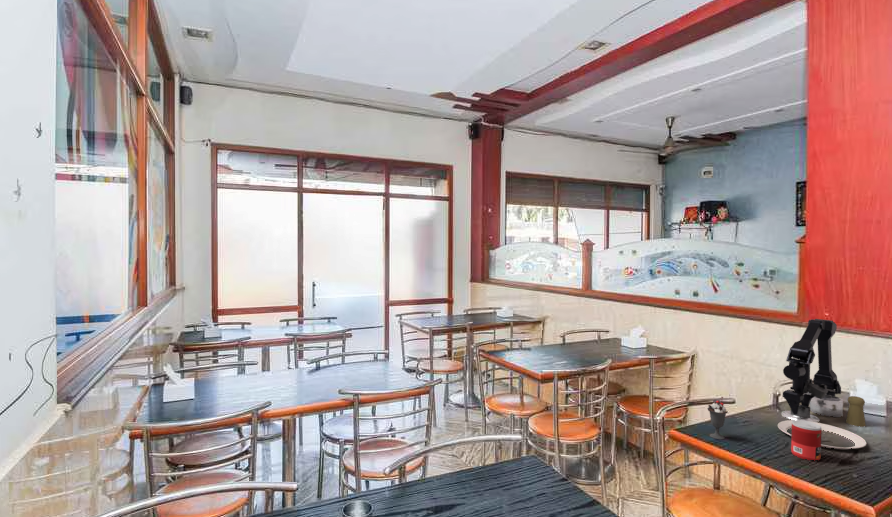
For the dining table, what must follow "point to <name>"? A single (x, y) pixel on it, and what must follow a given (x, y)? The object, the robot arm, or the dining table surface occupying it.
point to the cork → (856, 411)
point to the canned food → (806, 440)
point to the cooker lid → (801, 414)
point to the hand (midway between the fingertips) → (800, 412)
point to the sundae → (717, 418)
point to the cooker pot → (827, 406)
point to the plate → (855, 438)
